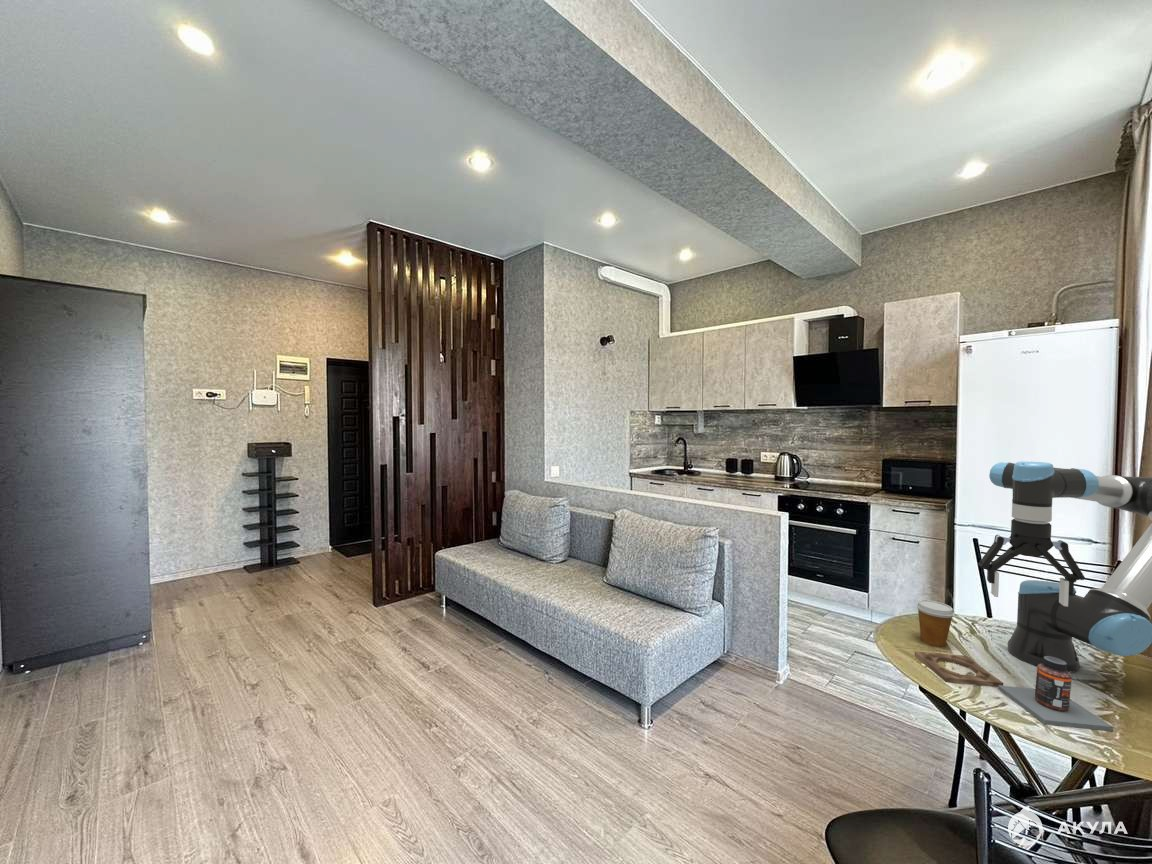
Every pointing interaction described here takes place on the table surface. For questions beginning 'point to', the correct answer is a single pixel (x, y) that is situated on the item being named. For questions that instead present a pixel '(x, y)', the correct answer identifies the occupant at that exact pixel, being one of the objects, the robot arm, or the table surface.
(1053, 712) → the slate pad
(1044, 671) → the supplement bottle
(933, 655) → the socket board
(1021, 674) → the table surface
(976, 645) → the table surface
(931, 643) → the disposable coffee cup
